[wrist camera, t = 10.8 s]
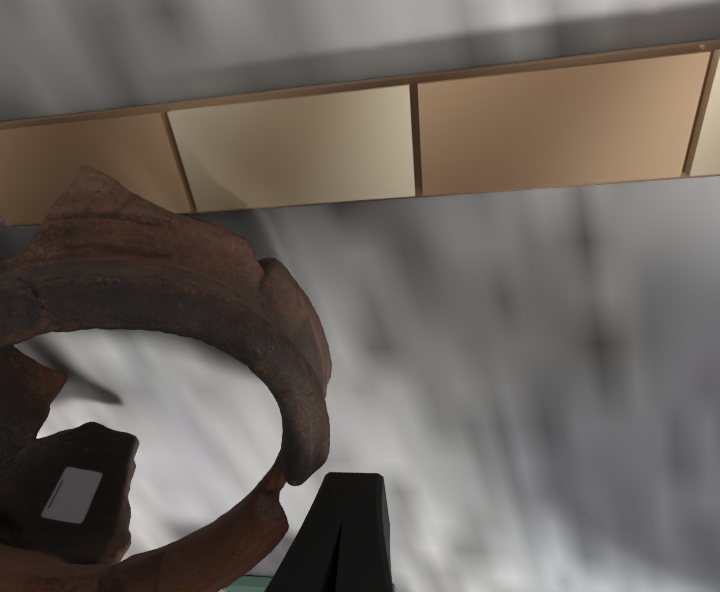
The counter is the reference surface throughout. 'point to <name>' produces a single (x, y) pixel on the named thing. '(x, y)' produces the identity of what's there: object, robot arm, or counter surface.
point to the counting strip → (388, 136)
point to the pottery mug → (117, 449)
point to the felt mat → (253, 584)
